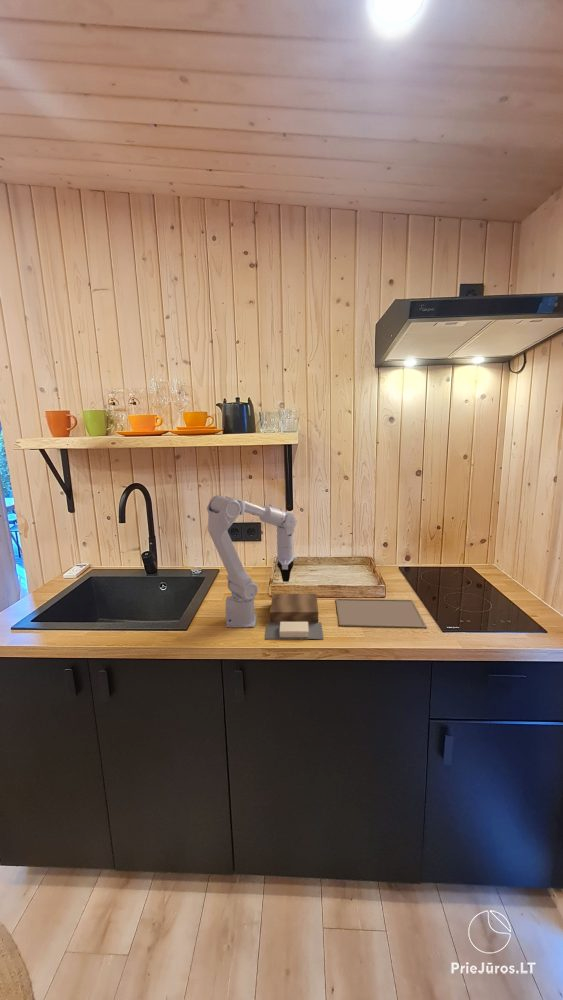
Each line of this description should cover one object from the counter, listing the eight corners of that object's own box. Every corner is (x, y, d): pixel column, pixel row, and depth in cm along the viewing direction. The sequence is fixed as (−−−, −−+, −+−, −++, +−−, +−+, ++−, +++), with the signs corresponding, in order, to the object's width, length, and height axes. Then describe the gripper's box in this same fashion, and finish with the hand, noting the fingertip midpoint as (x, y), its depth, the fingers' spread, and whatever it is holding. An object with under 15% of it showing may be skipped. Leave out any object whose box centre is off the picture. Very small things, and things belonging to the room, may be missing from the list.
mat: (265, 639, 125) (265, 638, 125) (267, 623, 135) (267, 622, 135) (323, 639, 124) (323, 638, 124) (321, 623, 134) (321, 622, 134)
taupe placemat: (339, 627, 132) (426, 629, 130) (339, 624, 132) (426, 626, 130) (335, 601, 151) (412, 602, 149) (335, 598, 151) (412, 599, 148)
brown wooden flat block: (270, 623, 135) (270, 612, 134) (272, 603, 149) (272, 593, 148) (318, 623, 134) (318, 612, 133) (316, 603, 148) (316, 593, 147)
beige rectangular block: (280, 621, 131) (280, 627, 132) (279, 631, 125) (279, 637, 126) (308, 621, 131) (308, 627, 131) (308, 631, 125) (308, 637, 125)
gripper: (296, 551, 135) (297, 589, 138) (296, 538, 150) (297, 573, 152) (275, 551, 136) (276, 589, 138) (277, 538, 150) (278, 573, 153)
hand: (285, 581), depth 145 cm, fingers closed
